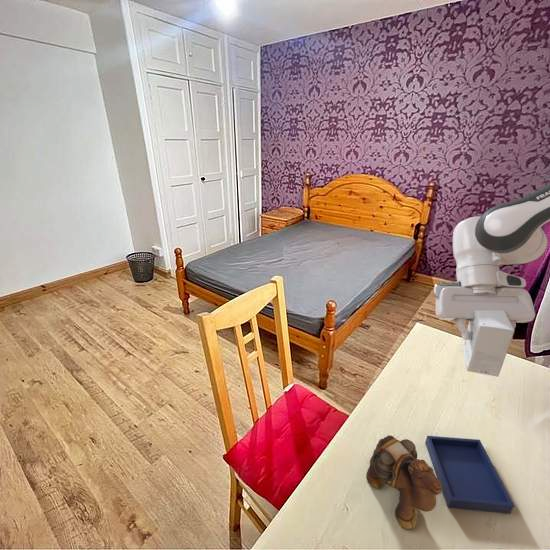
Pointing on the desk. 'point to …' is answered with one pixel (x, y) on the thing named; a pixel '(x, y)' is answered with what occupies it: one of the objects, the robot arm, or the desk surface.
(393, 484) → the figurine
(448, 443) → the tray
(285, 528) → the desk surface
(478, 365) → the small box
